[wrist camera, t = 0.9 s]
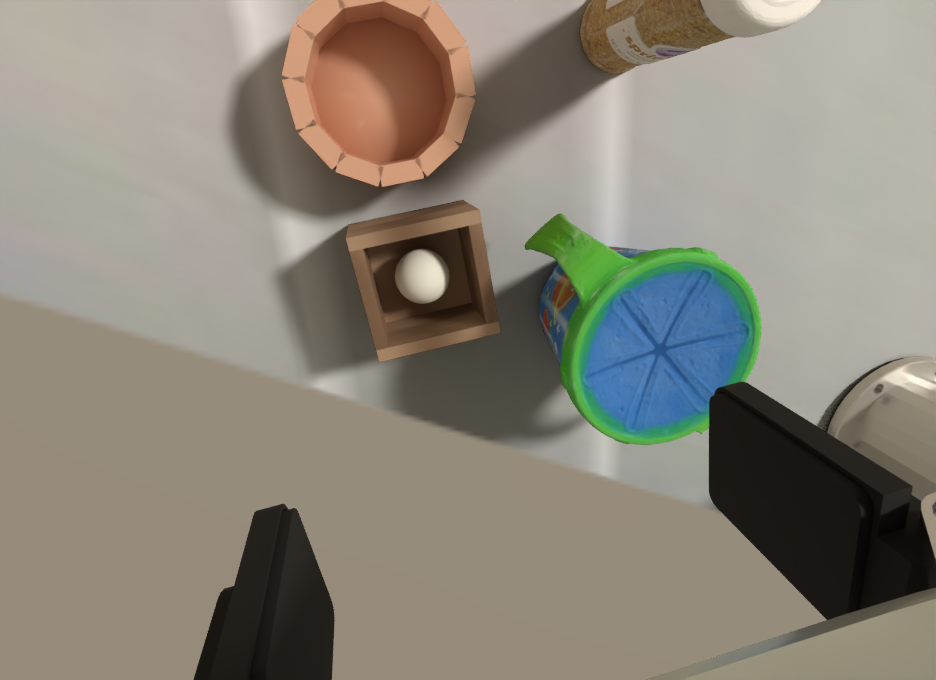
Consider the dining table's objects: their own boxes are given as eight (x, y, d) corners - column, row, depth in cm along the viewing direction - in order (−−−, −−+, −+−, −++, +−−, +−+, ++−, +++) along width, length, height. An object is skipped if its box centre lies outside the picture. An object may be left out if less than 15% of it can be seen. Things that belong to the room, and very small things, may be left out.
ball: (439, 239, 32) (447, 248, 29) (450, 288, 33) (458, 303, 30) (388, 250, 32) (390, 261, 29) (400, 300, 33) (403, 316, 30)
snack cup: (701, 336, 38) (809, 399, 29) (583, 422, 39) (652, 510, 30) (597, 153, 32) (691, 157, 23) (461, 258, 33) (498, 303, 24)
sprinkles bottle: (585, 83, 31) (733, 43, 19) (571, -4, 29) (722, -114, 17) (657, 62, 31) (849, 8, 19) (647, -26, 29) (851, -150, 17)
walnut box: (462, 200, 32) (479, 209, 27) (482, 307, 35) (500, 332, 30) (348, 224, 31) (345, 238, 27) (377, 332, 34) (379, 362, 29)
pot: (443, -13, 28) (454, -37, 24) (473, 162, 31) (487, 165, 28) (272, 16, 27) (257, -5, 23) (322, 193, 30) (316, 200, 27)
